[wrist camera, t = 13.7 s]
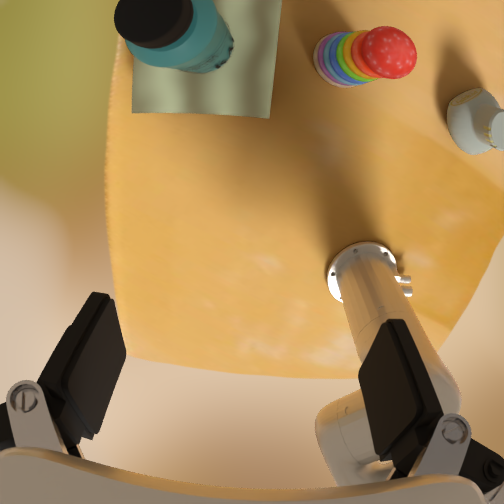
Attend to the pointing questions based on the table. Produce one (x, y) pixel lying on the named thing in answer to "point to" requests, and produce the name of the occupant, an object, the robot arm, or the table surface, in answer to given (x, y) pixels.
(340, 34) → the stacking toy
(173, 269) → the table surface
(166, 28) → the beverage bottle
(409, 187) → the table surface
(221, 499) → the robot arm
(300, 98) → the table surface
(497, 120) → the grey flask
